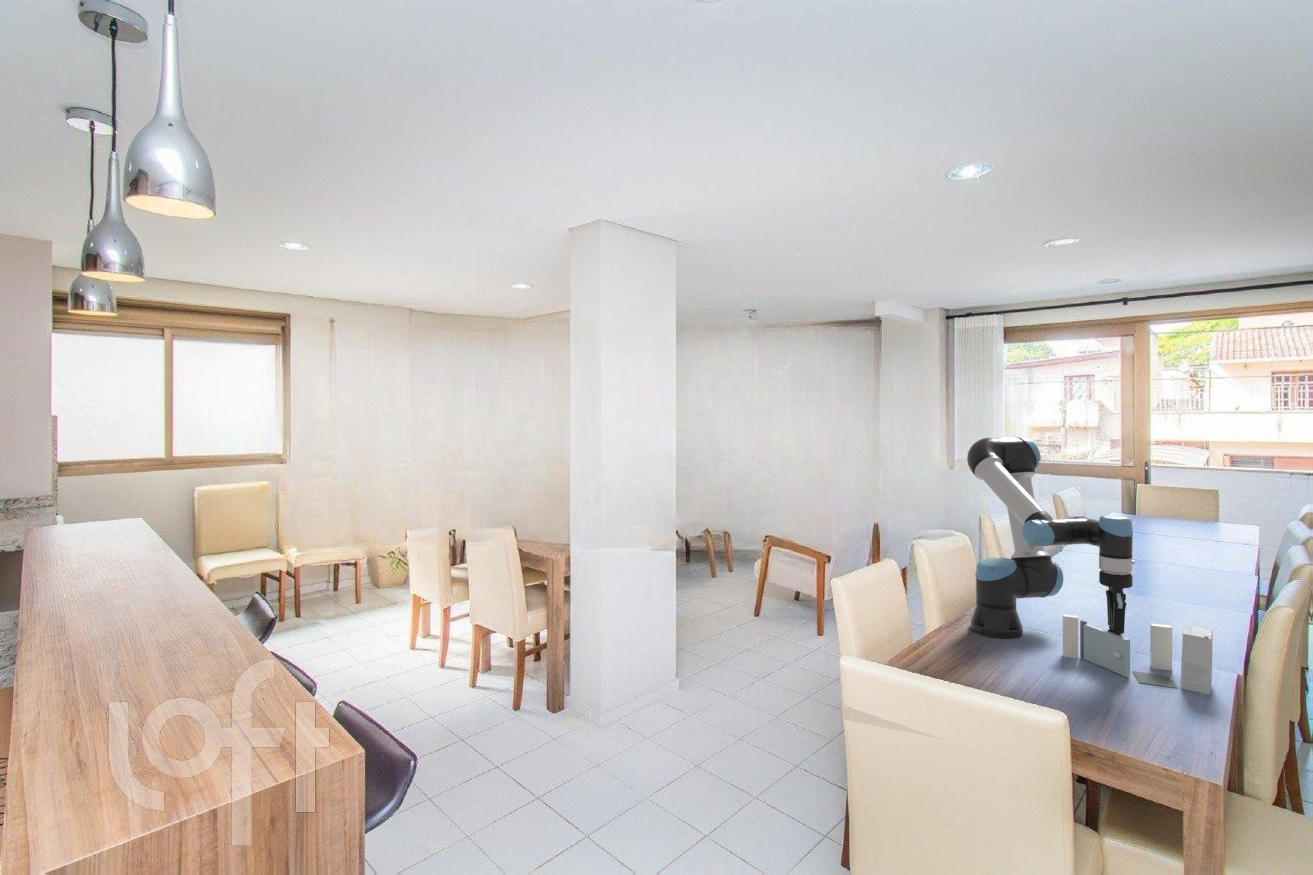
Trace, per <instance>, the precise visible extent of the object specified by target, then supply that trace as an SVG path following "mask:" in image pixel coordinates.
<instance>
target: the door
mask: <svg viewBox="0 0 1313 875" xmlns="http://www.w3.org/2000/svg"><path fill="white" fill-rule="evenodd" d="M1079 624H1080V625H1079V627H1080V628H1079V630H1080V634H1079V636H1080V638H1079V643H1080V644H1079V645H1080V646H1079V647H1080V650H1079V654H1080V655H1079V657H1080V658H1082V659H1084V660H1086V661H1088V662H1090V663H1093V664H1095V665H1098V666H1101V667H1103V668H1105V669H1107V670H1109V671H1111V672H1114V673H1116V674H1118V675H1121V676H1123V677H1130V676H1131V638H1128V637H1125V636H1123V635H1122V636H1120V635H1117V634H1114V633H1111V632H1109V631H1108V630H1106V629H1104V628H1100V627H1097V626H1094V625H1093V624H1089V623H1088V621H1087V620H1080V621H1079Z"/></svg>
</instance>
